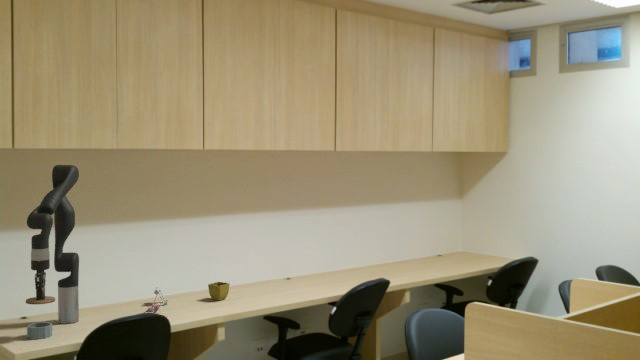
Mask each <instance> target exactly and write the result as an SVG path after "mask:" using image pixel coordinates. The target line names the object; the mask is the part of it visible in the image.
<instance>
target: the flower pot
mask: <svg viewBox="0 0 640 360" xmlns="http://www.w3.org/2000/svg"><path fill="white" fill-rule="evenodd" d="M207 286H208V288H207V289H208V293H209V296H210V298H211V299H212V301H223V300H226V299H227V297H228V295H229V291H230V283H229V282H223V281H216V282H212V283H208V284H207Z"/></svg>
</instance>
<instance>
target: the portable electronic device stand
mask: <svg viewBox="0 0 640 360" xmlns="http://www.w3.org/2000/svg"><path fill="white" fill-rule="evenodd" d="M153 294H155V295H156V296H155V299H154V301H153V303H152V305H153V304H155V303H156V302H155V301H156V299H157V297H158V295H159V298H160V300H161V303H162V304H163V305H164V306H165V305H166V306H167V305H168V303H169V298H168V297H167V299H165V297H164V295H163V292H162V291H161V288H160V287H156V288H155V289H154V291H153Z"/></svg>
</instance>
